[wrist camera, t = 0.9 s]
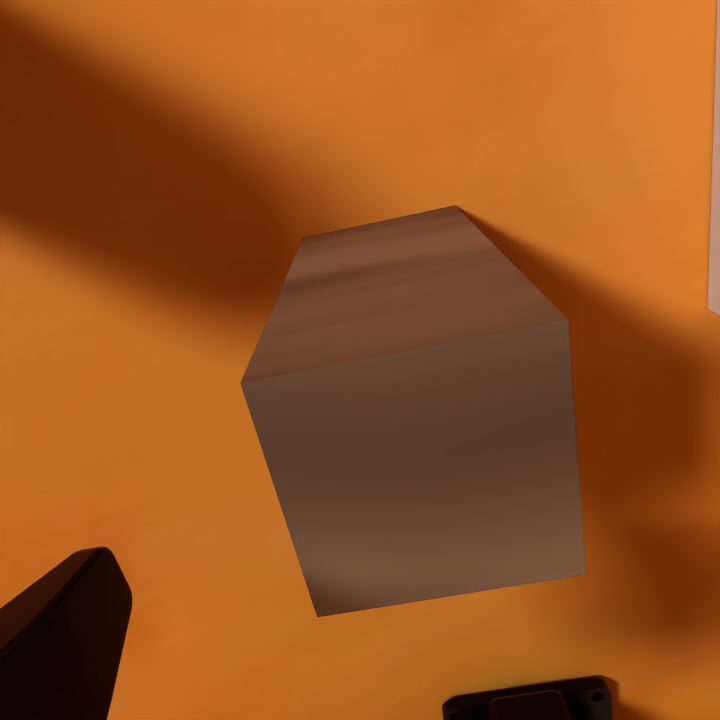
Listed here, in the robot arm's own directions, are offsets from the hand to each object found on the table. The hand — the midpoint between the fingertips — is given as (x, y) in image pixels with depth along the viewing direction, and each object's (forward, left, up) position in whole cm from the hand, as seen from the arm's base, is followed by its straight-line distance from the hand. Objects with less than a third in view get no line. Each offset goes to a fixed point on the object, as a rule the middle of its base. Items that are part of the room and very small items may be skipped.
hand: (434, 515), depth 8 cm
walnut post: (0, 0, -10) cm, 10 cm away
